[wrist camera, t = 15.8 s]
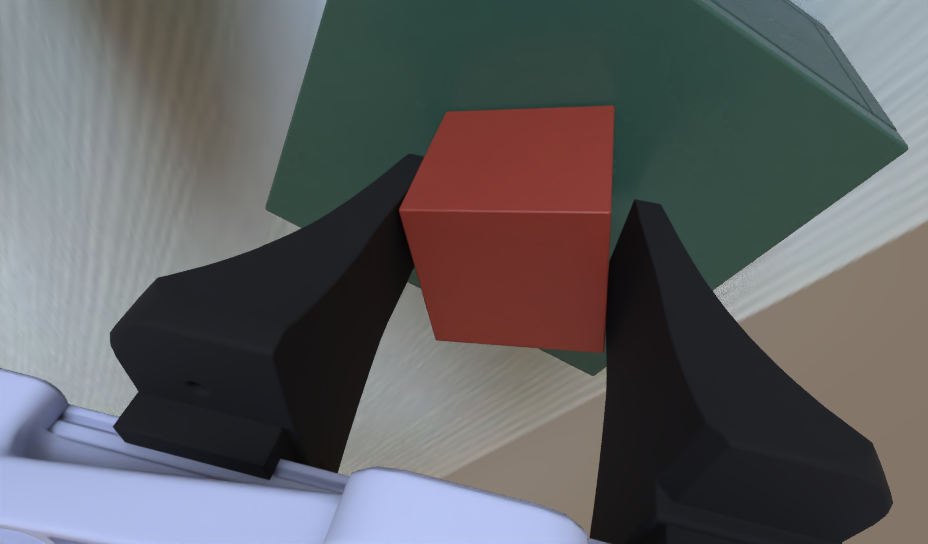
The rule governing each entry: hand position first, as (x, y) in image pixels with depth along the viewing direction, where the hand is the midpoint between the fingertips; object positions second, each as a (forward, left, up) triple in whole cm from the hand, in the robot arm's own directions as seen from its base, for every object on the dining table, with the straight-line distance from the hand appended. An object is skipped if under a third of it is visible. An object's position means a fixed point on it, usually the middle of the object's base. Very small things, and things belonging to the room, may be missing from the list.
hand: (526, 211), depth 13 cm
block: (0, 0, -1) cm, 1 cm away
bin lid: (0, 0, -2) cm, 2 cm away
